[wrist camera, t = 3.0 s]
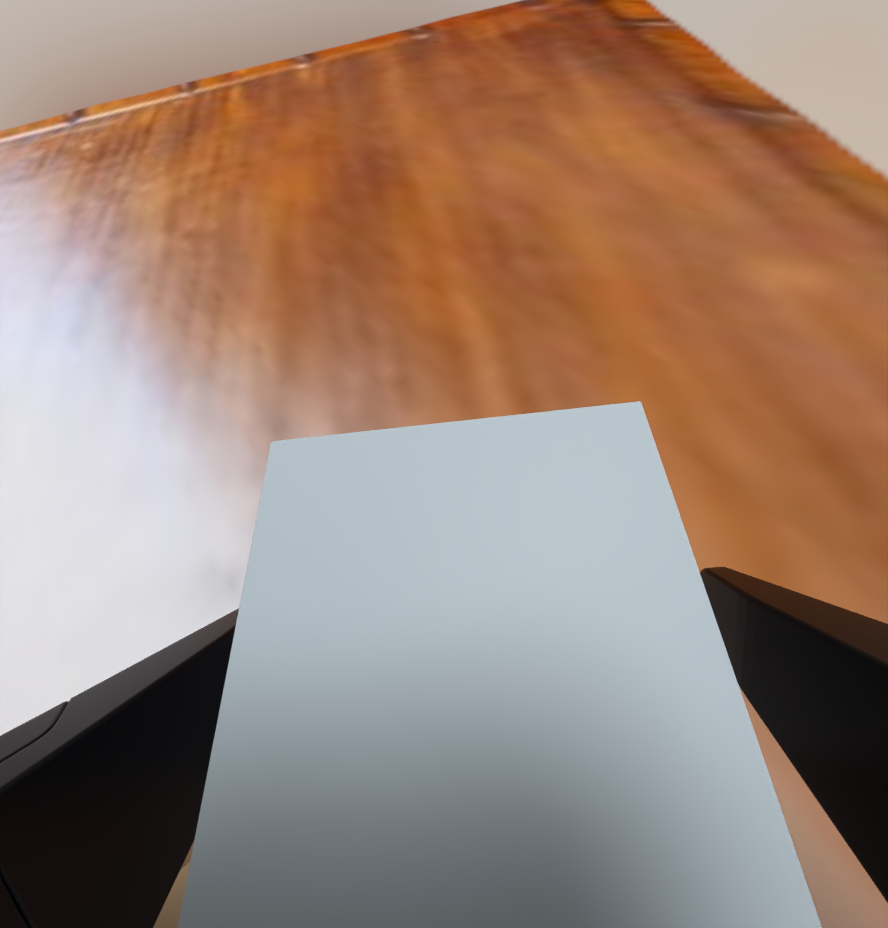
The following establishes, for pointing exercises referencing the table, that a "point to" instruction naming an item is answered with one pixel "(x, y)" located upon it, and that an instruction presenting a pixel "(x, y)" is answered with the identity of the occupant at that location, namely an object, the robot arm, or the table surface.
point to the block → (484, 697)
